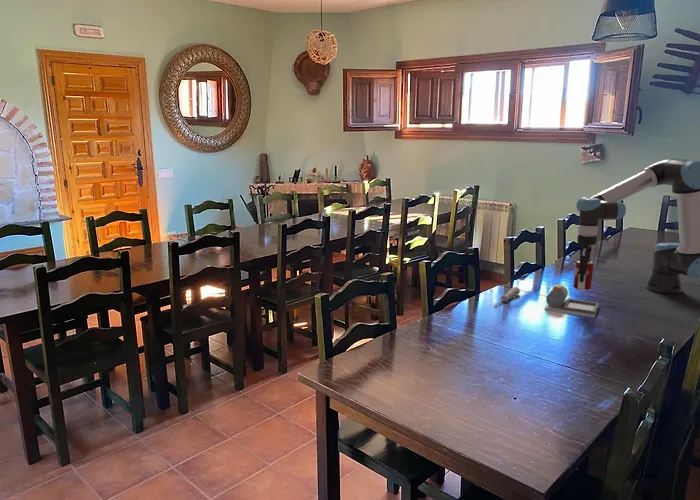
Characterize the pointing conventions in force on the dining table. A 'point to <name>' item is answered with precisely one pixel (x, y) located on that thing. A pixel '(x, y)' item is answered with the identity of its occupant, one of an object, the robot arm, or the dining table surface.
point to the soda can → (588, 275)
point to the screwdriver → (510, 294)
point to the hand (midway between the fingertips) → (582, 286)
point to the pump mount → (569, 303)
